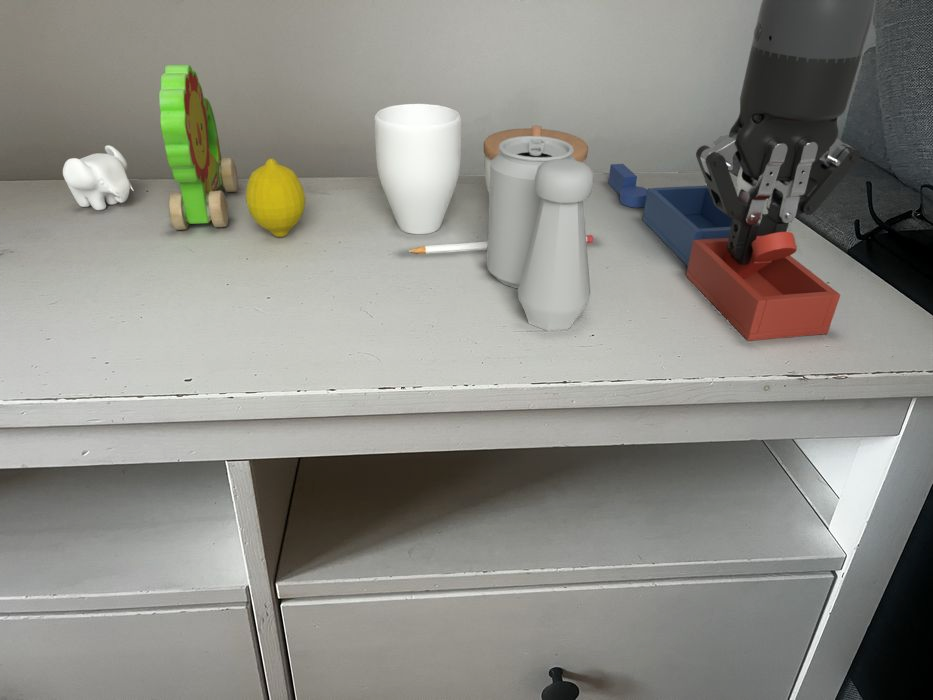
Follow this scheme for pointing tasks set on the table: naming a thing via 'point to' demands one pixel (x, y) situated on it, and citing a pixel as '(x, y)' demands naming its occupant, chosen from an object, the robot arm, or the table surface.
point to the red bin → (763, 294)
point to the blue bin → (684, 217)
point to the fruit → (275, 198)
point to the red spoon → (764, 252)
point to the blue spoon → (627, 186)
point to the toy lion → (193, 151)
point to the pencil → (462, 247)
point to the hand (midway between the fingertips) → (751, 259)
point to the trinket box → (495, 139)
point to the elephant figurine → (98, 179)
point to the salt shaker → (558, 247)
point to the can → (516, 201)
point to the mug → (418, 162)
